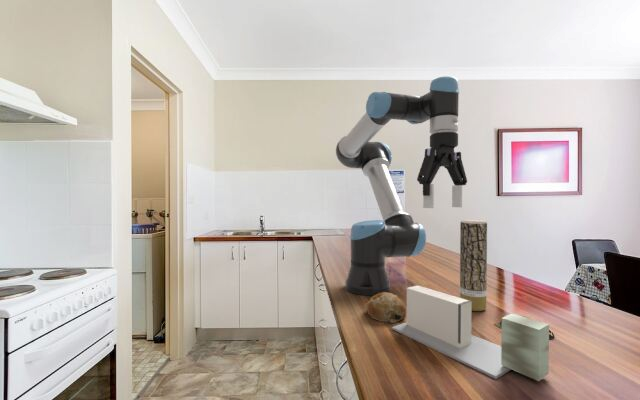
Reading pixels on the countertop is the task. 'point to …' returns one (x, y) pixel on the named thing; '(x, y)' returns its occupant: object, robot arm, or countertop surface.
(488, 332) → the countertop surface
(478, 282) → the paper tube
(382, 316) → the bread roll
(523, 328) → the pale green block
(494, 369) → the block
